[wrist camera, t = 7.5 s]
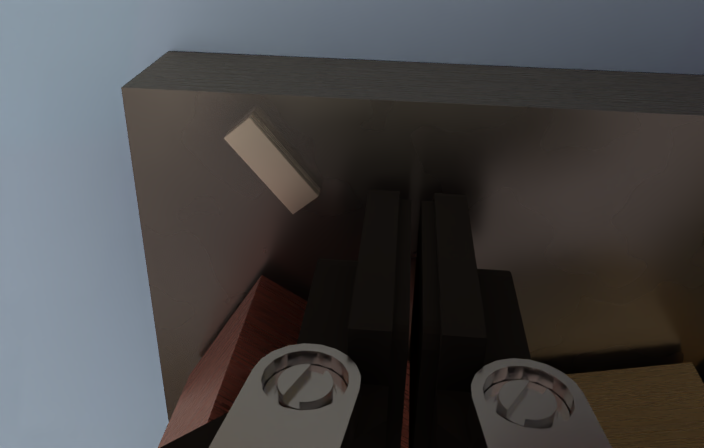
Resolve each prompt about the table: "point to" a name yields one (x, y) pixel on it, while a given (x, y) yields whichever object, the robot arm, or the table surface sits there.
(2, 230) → the table surface
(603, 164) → the spindle plate
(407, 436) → the wooden block ring
